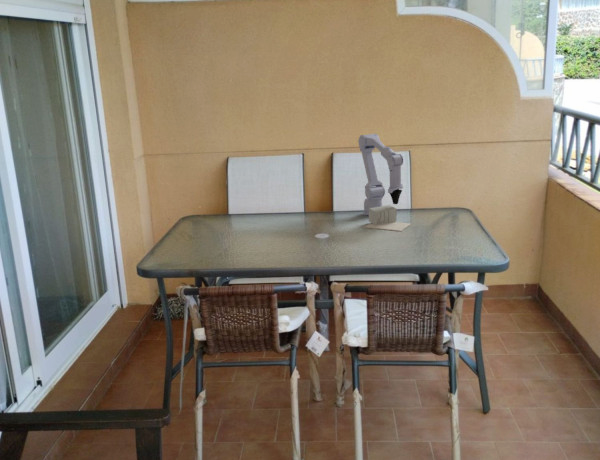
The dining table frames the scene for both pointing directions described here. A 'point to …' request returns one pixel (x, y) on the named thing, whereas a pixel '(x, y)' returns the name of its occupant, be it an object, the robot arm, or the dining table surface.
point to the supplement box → (382, 215)
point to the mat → (390, 226)
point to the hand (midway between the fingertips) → (395, 203)
